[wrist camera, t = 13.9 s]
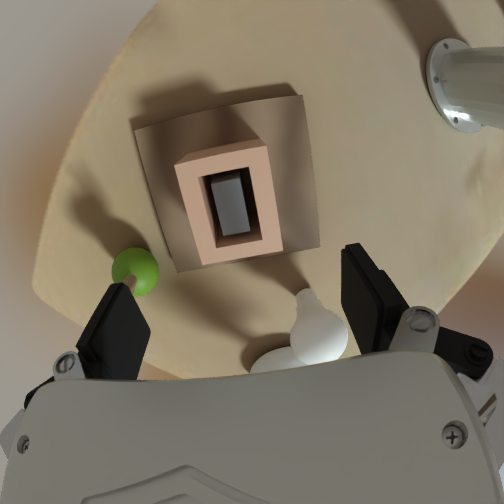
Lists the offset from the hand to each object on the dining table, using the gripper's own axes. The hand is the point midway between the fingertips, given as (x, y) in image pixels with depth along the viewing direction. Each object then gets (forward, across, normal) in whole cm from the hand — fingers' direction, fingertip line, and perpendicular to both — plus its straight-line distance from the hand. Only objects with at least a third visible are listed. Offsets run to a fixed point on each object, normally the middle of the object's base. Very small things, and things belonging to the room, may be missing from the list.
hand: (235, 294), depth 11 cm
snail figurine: (+18, +13, +6) cm, 23 cm away
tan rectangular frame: (+17, +1, 0) cm, 17 cm away
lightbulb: (+18, -5, +15) cm, 24 cm away
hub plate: (+18, +1, 0) cm, 18 cm away
